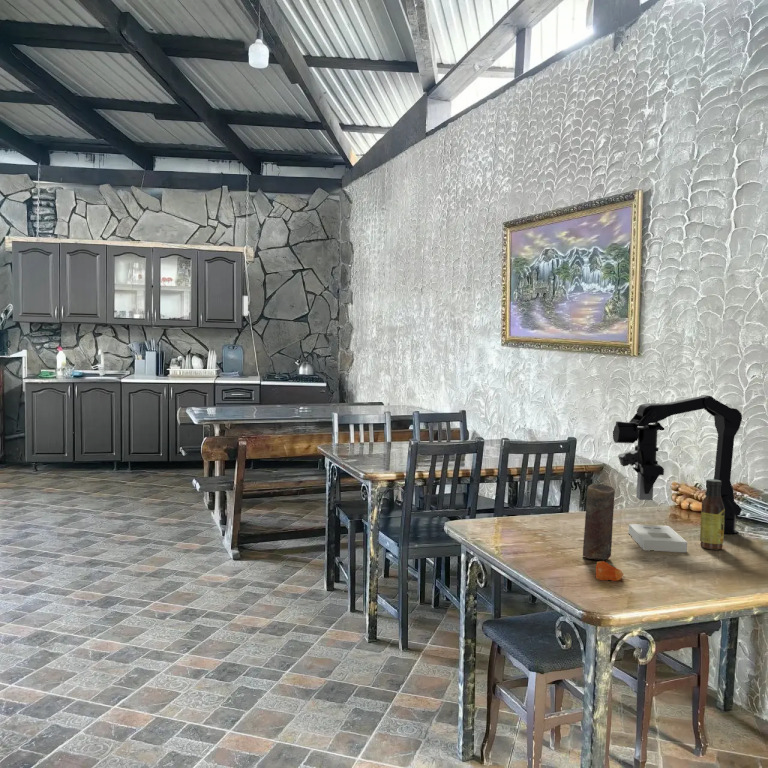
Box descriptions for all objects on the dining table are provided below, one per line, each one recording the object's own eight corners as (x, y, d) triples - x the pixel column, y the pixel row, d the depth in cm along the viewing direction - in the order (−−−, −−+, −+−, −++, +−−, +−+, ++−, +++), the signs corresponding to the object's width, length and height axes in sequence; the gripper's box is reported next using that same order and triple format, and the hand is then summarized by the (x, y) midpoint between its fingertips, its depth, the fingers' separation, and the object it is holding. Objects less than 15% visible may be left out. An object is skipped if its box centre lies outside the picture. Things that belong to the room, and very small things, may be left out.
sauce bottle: (725, 551, 202) (729, 483, 201) (702, 549, 203) (705, 481, 202) (719, 545, 208) (723, 479, 207) (697, 543, 209) (700, 477, 208)
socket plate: (628, 533, 219) (628, 523, 219) (668, 535, 218) (668, 525, 218) (643, 550, 201) (643, 539, 201) (686, 552, 200) (687, 541, 200)
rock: (637, 591, 169) (638, 573, 169) (584, 586, 171) (585, 569, 171) (629, 575, 181) (630, 558, 181) (580, 571, 183) (581, 554, 183)
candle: (611, 556, 194) (615, 485, 193) (611, 564, 187) (614, 490, 186) (583, 553, 197) (586, 482, 195) (581, 560, 190) (584, 487, 189)
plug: (636, 496, 226) (637, 472, 226) (649, 497, 226) (650, 472, 225) (639, 499, 222) (640, 474, 222) (652, 500, 222) (653, 475, 221)
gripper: (614, 438, 233) (612, 485, 234) (627, 446, 214) (625, 497, 215) (649, 440, 232) (647, 486, 233) (665, 448, 213) (663, 499, 214)
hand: (644, 492), depth 224 cm, fingers closed on plug, 4 cm apart
